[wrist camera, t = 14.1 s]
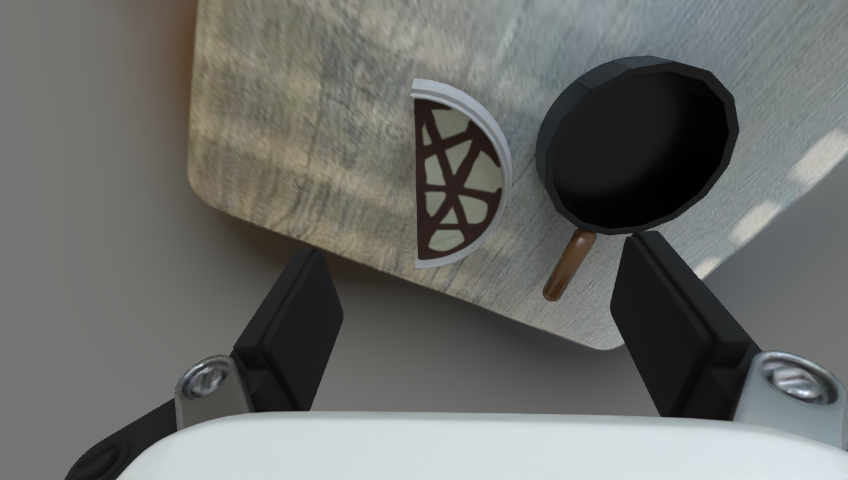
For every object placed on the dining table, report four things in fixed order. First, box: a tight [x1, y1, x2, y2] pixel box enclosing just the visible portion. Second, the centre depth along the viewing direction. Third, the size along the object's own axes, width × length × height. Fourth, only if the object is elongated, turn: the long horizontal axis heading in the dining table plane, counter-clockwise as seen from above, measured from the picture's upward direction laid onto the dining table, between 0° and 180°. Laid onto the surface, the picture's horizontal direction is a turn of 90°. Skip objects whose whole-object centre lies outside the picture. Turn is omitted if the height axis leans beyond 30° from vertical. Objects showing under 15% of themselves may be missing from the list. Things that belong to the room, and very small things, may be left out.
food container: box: [410, 78, 513, 269], centre depth 25 cm, size 12×6×10 cm, turn 0°
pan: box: [536, 56, 739, 302], centre depth 29 cm, size 21×12×4 cm, turn 167°
